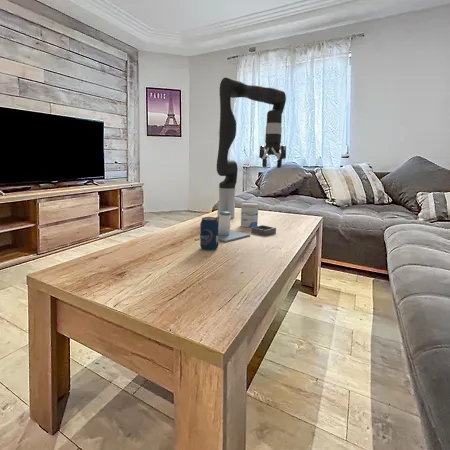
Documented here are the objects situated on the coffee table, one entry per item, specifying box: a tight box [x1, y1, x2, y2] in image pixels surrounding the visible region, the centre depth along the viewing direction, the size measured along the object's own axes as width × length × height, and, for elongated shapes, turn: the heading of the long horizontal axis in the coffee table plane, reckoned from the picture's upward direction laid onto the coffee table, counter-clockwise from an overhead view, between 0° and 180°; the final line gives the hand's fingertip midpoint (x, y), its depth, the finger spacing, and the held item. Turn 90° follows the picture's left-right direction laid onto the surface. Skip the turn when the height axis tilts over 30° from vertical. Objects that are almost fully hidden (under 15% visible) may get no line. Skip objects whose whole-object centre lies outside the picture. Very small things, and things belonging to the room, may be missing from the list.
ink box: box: [240, 202, 259, 228], centre depth 161 cm, size 8×5×12 cm, turn 84°
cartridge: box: [218, 211, 232, 236], centre depth 140 cm, size 5×5×10 cm
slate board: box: [218, 229, 251, 243], centre depth 141 cm, size 16×16×1 cm
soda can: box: [199, 216, 219, 252], centre depth 120 cm, size 7×7×12 cm
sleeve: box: [251, 224, 277, 237], centre depth 148 cm, size 8×8×2 cm
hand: (271, 167), depth 155 cm, fingers open, 8 cm apart
